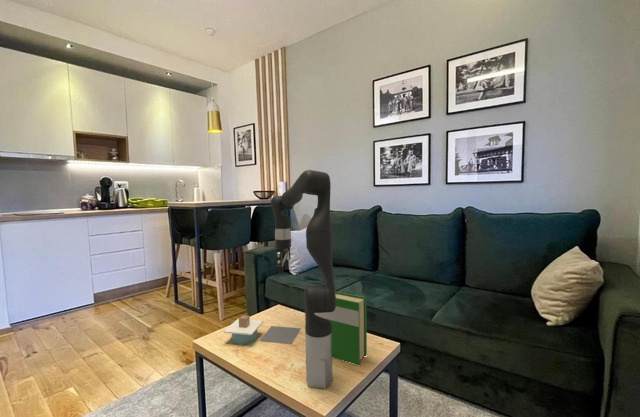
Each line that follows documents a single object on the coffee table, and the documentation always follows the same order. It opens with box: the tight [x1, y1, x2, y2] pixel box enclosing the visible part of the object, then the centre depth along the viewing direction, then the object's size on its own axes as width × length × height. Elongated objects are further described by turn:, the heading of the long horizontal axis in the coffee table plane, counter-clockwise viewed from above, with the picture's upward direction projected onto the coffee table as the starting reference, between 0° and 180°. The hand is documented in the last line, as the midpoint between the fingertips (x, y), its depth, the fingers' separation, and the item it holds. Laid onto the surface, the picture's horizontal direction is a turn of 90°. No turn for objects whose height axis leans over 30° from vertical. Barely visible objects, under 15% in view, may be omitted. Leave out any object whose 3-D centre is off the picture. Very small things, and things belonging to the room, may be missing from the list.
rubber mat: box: [259, 325, 302, 345], centre depth 133 cm, size 15×15×1 cm
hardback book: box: [319, 290, 368, 366], centre depth 116 cm, size 18×7×24 cm, turn 58°
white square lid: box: [223, 314, 265, 335], centre depth 130 cm, size 13×13×5 cm
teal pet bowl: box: [231, 329, 258, 346], centre depth 130 cm, size 11×11×6 cm
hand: (283, 271), depth 138 cm, fingers open, 8 cm apart
